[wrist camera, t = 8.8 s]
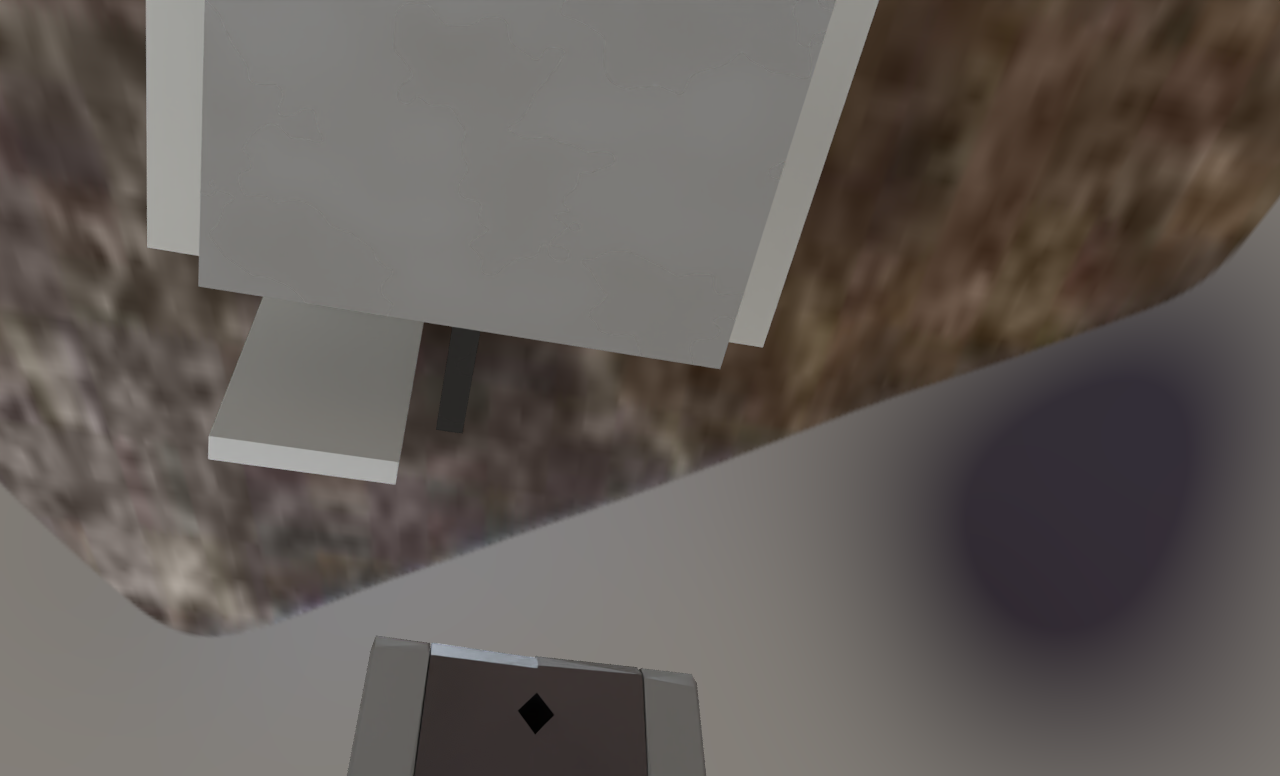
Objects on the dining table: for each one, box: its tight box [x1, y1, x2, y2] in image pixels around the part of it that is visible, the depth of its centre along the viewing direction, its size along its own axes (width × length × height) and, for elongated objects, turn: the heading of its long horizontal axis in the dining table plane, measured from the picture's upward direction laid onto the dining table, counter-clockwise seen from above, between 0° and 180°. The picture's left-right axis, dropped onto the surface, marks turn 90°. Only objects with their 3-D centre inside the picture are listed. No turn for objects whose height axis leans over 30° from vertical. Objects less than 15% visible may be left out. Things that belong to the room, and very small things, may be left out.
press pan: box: [198, 0, 836, 433], centre depth 32 cm, size 14×19×5 cm
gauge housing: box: [146, 0, 879, 485], centre depth 32 cm, size 20×22×9 cm
